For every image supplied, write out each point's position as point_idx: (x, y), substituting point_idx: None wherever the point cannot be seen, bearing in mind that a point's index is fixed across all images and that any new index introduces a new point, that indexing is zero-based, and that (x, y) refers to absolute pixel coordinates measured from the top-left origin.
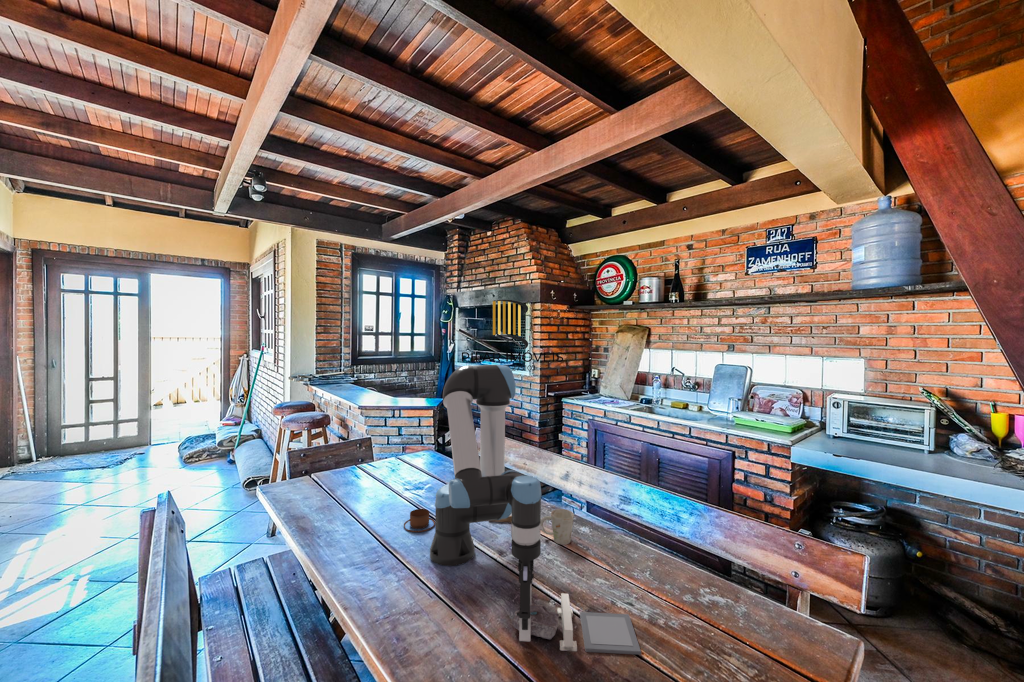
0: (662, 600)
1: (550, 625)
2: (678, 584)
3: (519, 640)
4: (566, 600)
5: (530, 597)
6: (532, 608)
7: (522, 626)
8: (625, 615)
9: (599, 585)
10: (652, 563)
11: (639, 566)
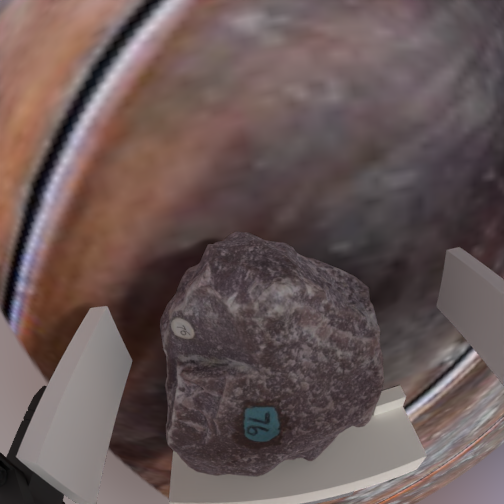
0: (393, 494)
1: (194, 469)
2: (426, 489)
3: (88, 311)
4: (374, 481)
5: (463, 329)
6: (340, 391)
7: (30, 410)
8: (349, 493)
9: (473, 422)
10: (486, 451)
11: (489, 443)
